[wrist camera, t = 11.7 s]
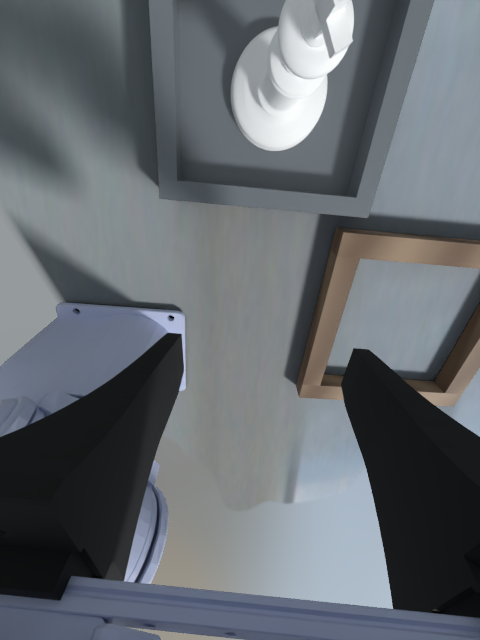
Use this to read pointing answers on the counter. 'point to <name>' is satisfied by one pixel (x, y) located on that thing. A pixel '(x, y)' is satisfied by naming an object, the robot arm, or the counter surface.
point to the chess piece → (290, 72)
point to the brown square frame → (346, 250)
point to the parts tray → (321, 143)
